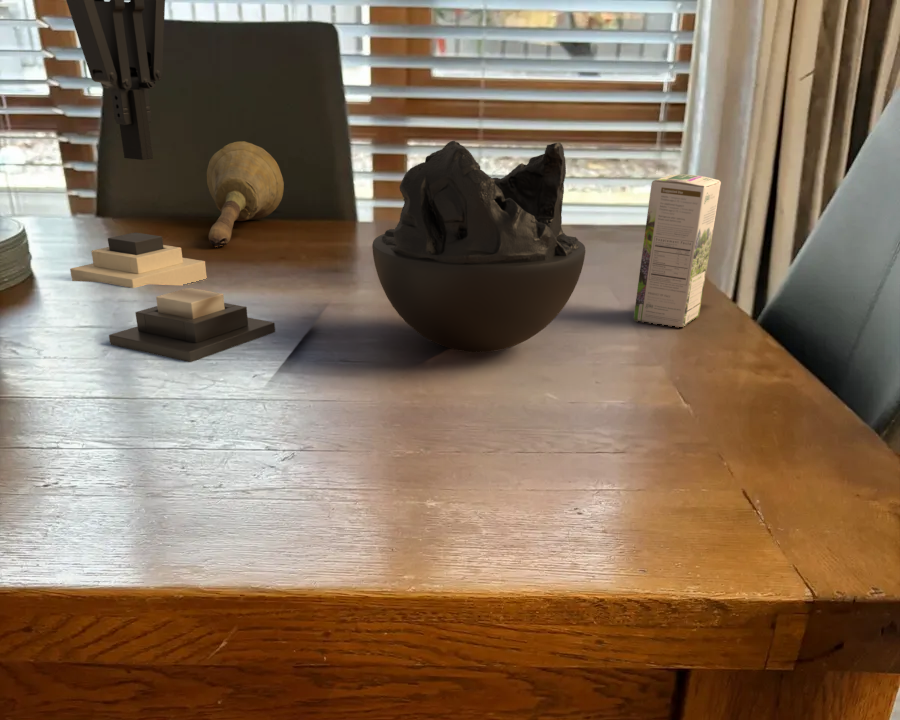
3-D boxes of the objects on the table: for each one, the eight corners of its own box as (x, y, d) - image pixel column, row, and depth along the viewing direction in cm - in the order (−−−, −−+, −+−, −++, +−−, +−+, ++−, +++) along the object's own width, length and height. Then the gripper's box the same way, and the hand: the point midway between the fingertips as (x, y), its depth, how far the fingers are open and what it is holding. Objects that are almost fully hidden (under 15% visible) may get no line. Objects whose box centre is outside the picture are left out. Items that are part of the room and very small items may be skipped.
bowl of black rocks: (339, 363, 92) (330, 143, 82) (422, 313, 108) (422, 125, 98) (542, 392, 86) (558, 159, 76) (598, 335, 102) (617, 136, 92)
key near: (193, 322, 90) (191, 303, 89) (158, 315, 92) (155, 296, 91) (225, 312, 93) (223, 293, 92) (190, 305, 95) (188, 287, 94)
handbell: (260, 232, 158) (232, 296, 139) (194, 186, 154) (156, 245, 135) (298, 172, 152) (274, 230, 133) (231, 121, 147) (196, 174, 128)
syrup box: (650, 310, 111) (667, 172, 104) (701, 318, 108) (722, 177, 101) (632, 321, 107) (649, 178, 99) (684, 330, 104) (705, 183, 97)
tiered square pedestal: (192, 376, 88) (186, 331, 86) (112, 358, 92) (105, 315, 90) (276, 344, 97) (273, 303, 95) (200, 329, 101) (195, 289, 99)
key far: (136, 258, 113) (134, 242, 112) (109, 253, 115) (107, 238, 114) (164, 251, 117) (162, 236, 116) (137, 247, 118) (135, 232, 118)
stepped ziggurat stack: (134, 299, 111) (129, 263, 109) (73, 287, 115) (66, 252, 113) (207, 279, 120) (203, 245, 118) (147, 269, 124) (143, 236, 122)
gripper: (72, -127, 85) (116, 167, 97) (180, -111, 95) (208, 155, 107) (15, -123, 88) (64, 161, 100) (125, -108, 98) (158, 150, 110)
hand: (138, 158), depth 104 cm, fingers closed
